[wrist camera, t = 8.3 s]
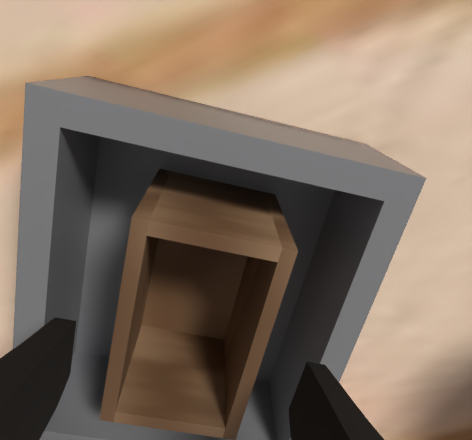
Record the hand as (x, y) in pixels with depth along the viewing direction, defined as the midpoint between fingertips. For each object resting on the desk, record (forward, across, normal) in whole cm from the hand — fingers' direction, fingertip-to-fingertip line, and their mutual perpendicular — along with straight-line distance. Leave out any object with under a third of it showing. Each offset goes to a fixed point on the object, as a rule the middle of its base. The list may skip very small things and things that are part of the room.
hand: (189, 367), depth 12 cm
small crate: (+6, 0, 0) cm, 7 cm away
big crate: (+8, 0, 0) cm, 8 cm away
